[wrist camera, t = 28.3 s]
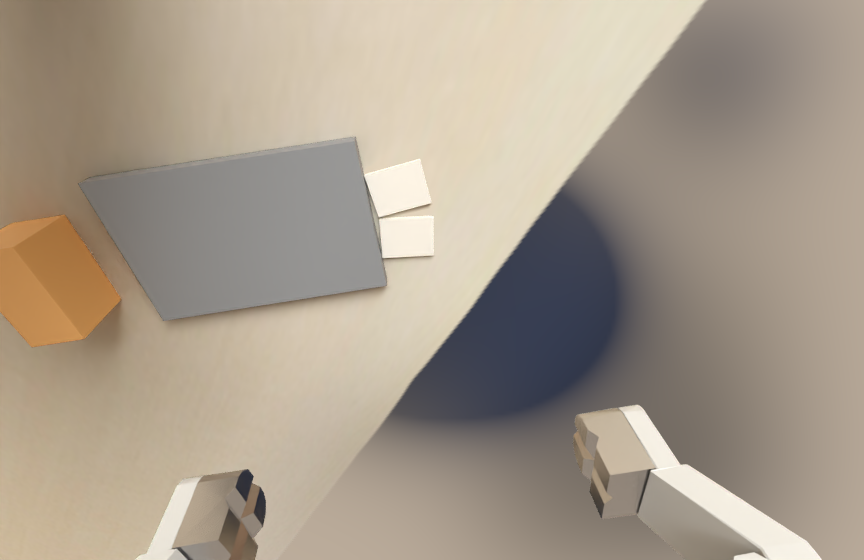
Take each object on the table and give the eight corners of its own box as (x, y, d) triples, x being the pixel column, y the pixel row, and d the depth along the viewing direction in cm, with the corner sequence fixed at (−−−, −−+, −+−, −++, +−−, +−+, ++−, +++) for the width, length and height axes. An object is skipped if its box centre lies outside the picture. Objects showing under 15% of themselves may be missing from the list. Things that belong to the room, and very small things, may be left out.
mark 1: (379, 212, 38) (378, 217, 38) (364, 172, 36) (364, 175, 35) (430, 198, 38) (431, 202, 37) (419, 156, 36) (420, 160, 35)
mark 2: (382, 253, 41) (382, 258, 40) (379, 215, 39) (379, 220, 38) (432, 250, 41) (433, 255, 40) (432, 213, 39) (433, 217, 38)
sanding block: (121, 298, 40) (84, 338, 35) (75, 305, 40) (31, 347, 35) (65, 214, 35) (12, 247, 30) (13, 222, 35) (-49, 256, 30)
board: (170, 311, 41) (163, 321, 40) (89, 177, 34) (77, 183, 32) (386, 277, 42) (386, 285, 40) (355, 136, 34) (354, 141, 33)
